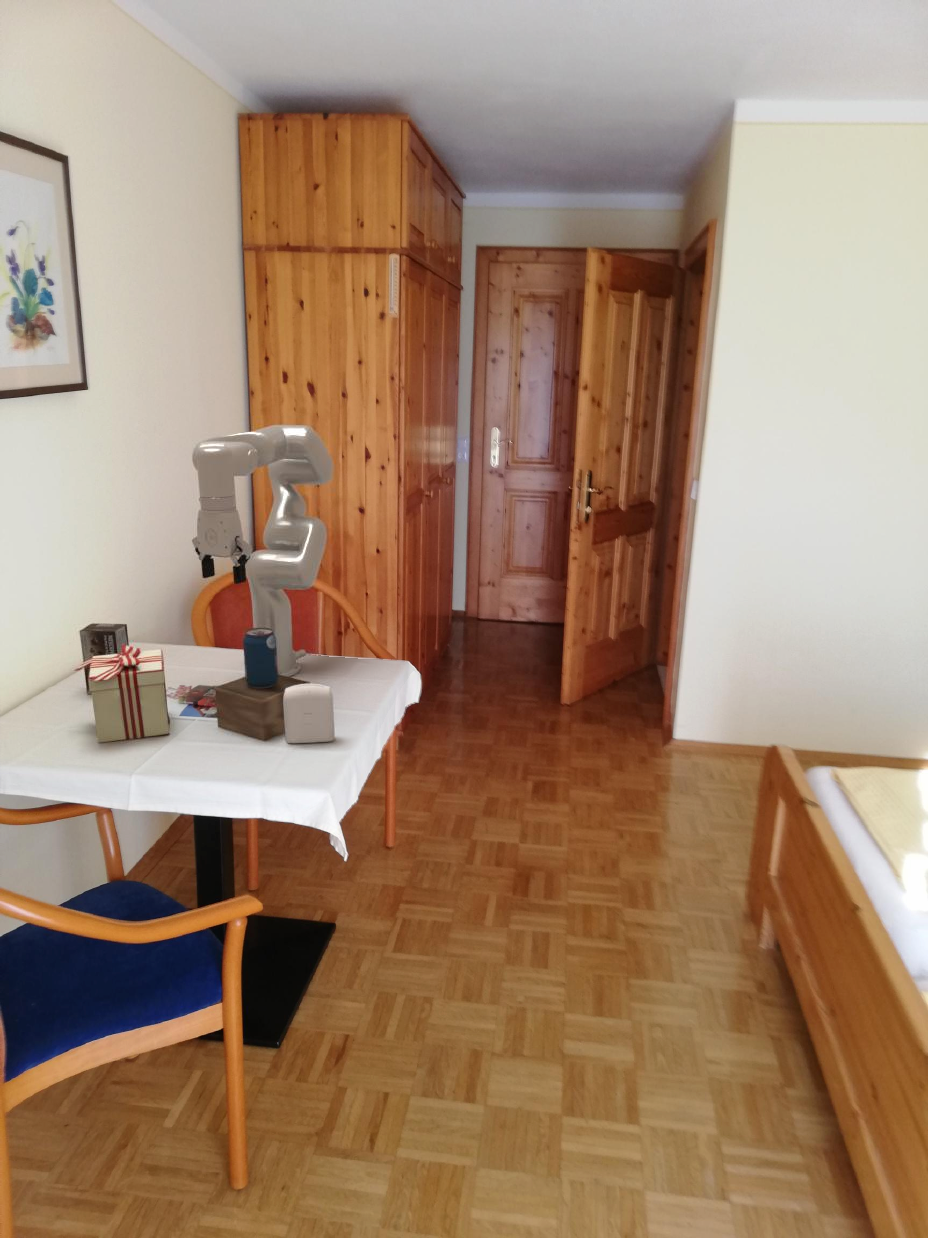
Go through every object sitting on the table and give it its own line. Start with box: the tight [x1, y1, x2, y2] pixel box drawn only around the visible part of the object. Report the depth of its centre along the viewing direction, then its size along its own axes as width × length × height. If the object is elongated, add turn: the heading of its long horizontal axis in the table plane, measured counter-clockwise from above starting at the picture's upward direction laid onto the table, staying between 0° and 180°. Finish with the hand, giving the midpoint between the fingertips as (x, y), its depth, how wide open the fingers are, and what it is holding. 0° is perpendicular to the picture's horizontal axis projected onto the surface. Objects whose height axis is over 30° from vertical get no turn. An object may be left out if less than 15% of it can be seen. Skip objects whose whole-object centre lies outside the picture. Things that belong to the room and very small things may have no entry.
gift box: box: [73, 645, 171, 744], centre depth 198 cm, size 17×18×17 cm
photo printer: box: [283, 683, 336, 744], centre depth 193 cm, size 10×4×12 cm, turn 96°
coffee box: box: [79, 623, 130, 696], centre depth 222 cm, size 9×6×16 cm
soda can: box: [242, 627, 278, 689], centre depth 200 cm, size 7×7×12 cm
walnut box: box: [213, 674, 311, 742], centre depth 203 cm, size 14×14×9 cm
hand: (224, 579), depth 208 cm, fingers open, 9 cm apart
